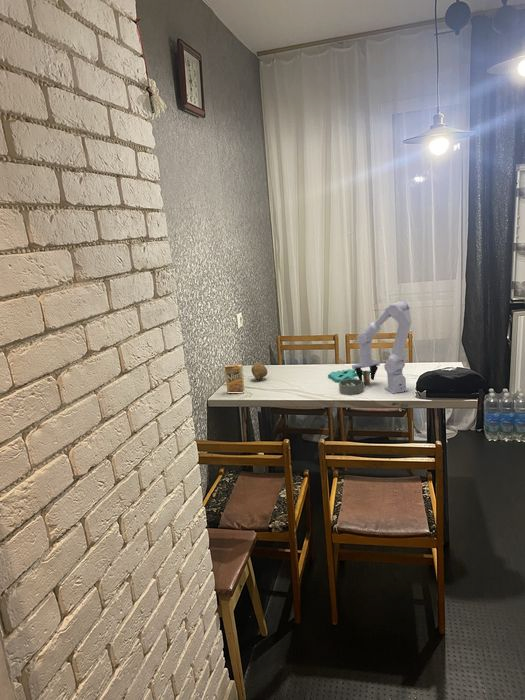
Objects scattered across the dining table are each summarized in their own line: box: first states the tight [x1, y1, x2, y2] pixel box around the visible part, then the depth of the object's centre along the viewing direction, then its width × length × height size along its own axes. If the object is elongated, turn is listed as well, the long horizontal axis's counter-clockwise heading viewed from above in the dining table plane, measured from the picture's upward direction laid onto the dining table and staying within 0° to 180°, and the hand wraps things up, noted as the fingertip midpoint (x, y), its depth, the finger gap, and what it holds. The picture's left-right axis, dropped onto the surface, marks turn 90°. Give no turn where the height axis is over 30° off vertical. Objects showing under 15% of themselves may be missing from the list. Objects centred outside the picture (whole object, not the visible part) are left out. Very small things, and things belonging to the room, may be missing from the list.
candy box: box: [224, 363, 245, 393], centre depth 264 cm, size 9×4×15 cm, turn 81°
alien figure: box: [327, 368, 371, 384], centre depth 275 cm, size 20×2×20 cm
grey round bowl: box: [338, 378, 365, 396], centre depth 251 cm, size 12×12×4 cm
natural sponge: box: [251, 362, 268, 380], centre depth 284 cm, size 9×9×10 cm
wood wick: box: [362, 370, 371, 387], centre depth 258 cm, size 4×2×7 cm, turn 13°
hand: (366, 380), depth 259 cm, fingers open, 6 cm apart
